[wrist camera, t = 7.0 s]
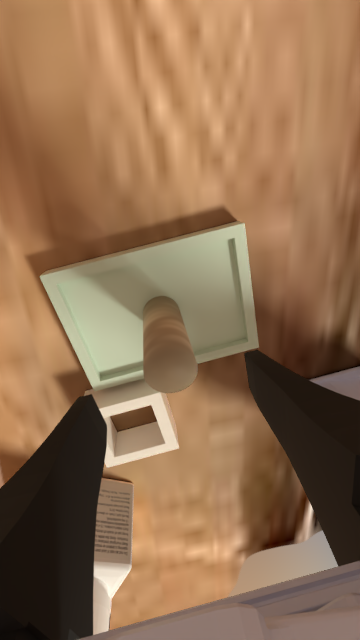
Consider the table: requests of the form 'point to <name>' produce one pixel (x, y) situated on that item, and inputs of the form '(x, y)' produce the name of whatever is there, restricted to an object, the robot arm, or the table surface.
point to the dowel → (166, 347)
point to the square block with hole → (139, 438)
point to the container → (111, 547)
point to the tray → (152, 281)
